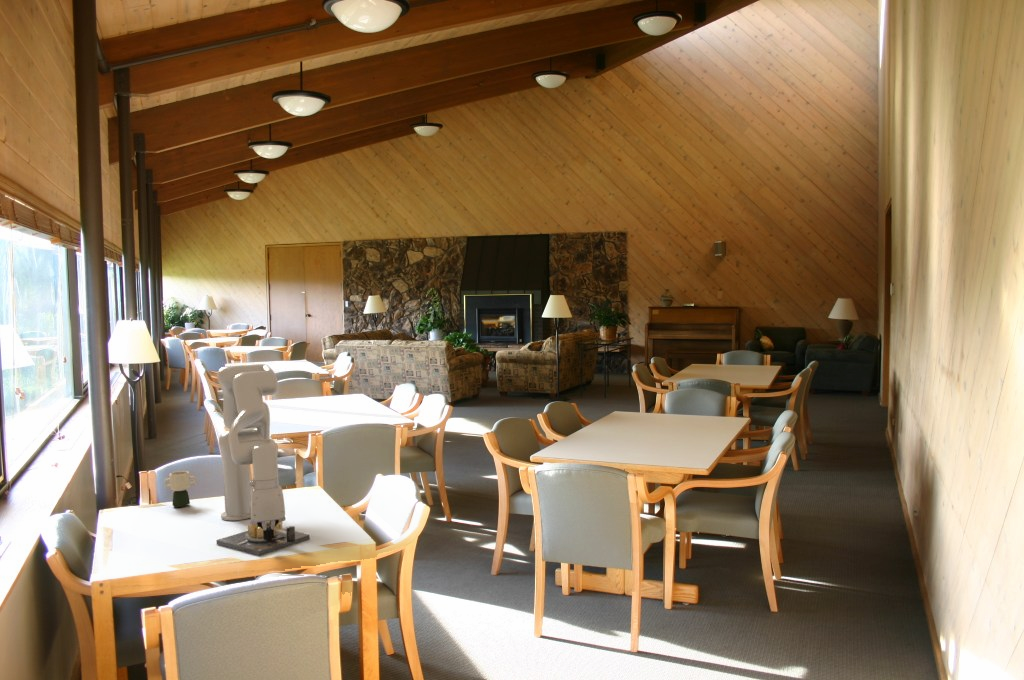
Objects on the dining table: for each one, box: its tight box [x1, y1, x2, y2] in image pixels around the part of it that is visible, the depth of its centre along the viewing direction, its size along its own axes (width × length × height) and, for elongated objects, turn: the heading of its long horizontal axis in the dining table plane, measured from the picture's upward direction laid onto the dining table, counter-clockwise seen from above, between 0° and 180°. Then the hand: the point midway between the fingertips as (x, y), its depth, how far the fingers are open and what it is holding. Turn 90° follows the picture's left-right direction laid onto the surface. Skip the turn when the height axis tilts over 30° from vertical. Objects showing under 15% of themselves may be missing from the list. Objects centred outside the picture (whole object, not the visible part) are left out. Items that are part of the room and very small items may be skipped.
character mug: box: [164, 470, 196, 508], centre depth 329 cm, size 11×7×13 cm, turn 106°
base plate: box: [215, 521, 311, 557], centre depth 280 cm, size 20×22×8 cm
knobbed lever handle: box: [247, 521, 296, 542], centre depth 277 cm, size 20×10×4 cm, turn 50°
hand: (268, 541), depth 268 cm, fingers closed
